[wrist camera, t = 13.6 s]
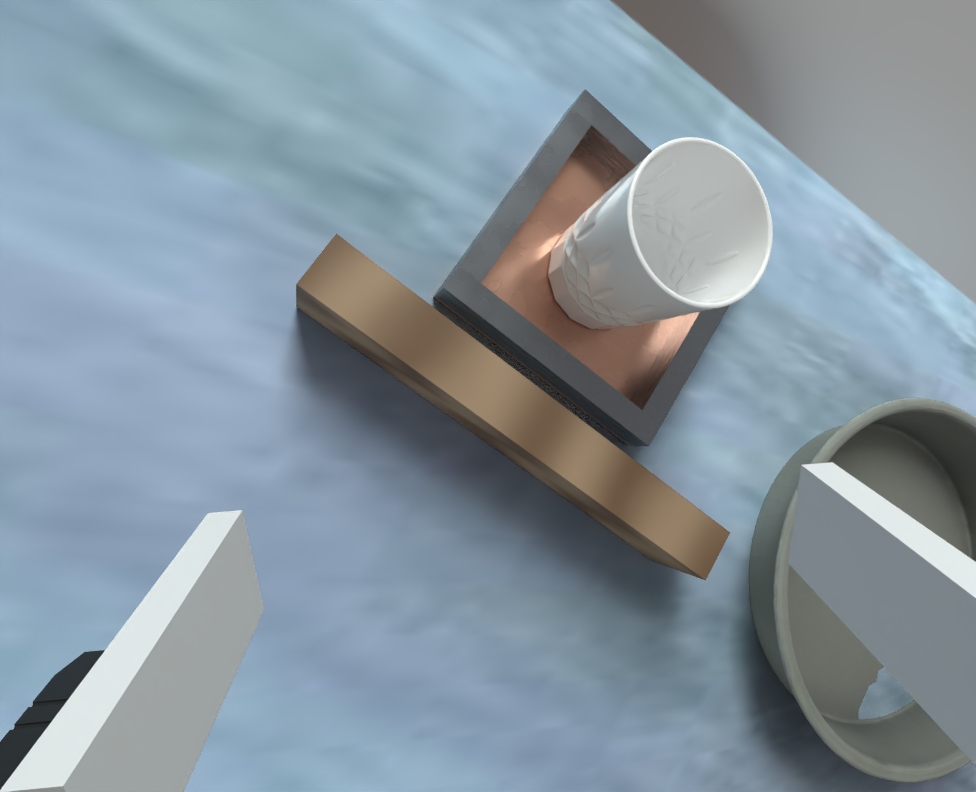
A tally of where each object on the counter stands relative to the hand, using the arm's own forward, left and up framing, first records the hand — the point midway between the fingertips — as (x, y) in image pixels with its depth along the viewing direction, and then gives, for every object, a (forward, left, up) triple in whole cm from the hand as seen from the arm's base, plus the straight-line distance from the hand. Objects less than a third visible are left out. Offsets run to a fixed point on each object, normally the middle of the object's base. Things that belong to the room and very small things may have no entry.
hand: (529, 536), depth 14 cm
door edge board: (+3, +6, -19) cm, 20 cm away
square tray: (+3, +17, -19) cm, 26 cm away
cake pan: (+32, +13, -20) cm, 40 cm away
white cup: (+3, +17, -19) cm, 26 cm away
